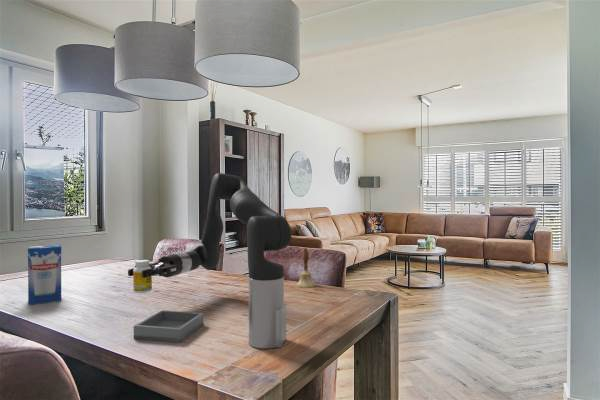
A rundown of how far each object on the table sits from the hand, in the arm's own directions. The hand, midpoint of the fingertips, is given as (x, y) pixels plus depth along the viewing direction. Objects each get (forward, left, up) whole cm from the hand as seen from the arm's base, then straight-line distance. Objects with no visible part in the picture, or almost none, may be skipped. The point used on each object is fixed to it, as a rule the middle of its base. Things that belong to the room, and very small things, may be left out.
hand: (136, 273), depth 113 cm
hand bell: (-43, -55, -15) cm, 71 cm away
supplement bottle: (-1, -2, -6) cm, 7 cm away
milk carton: (+47, -13, -15) cm, 50 cm away
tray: (-15, +6, -15) cm, 22 cm away
